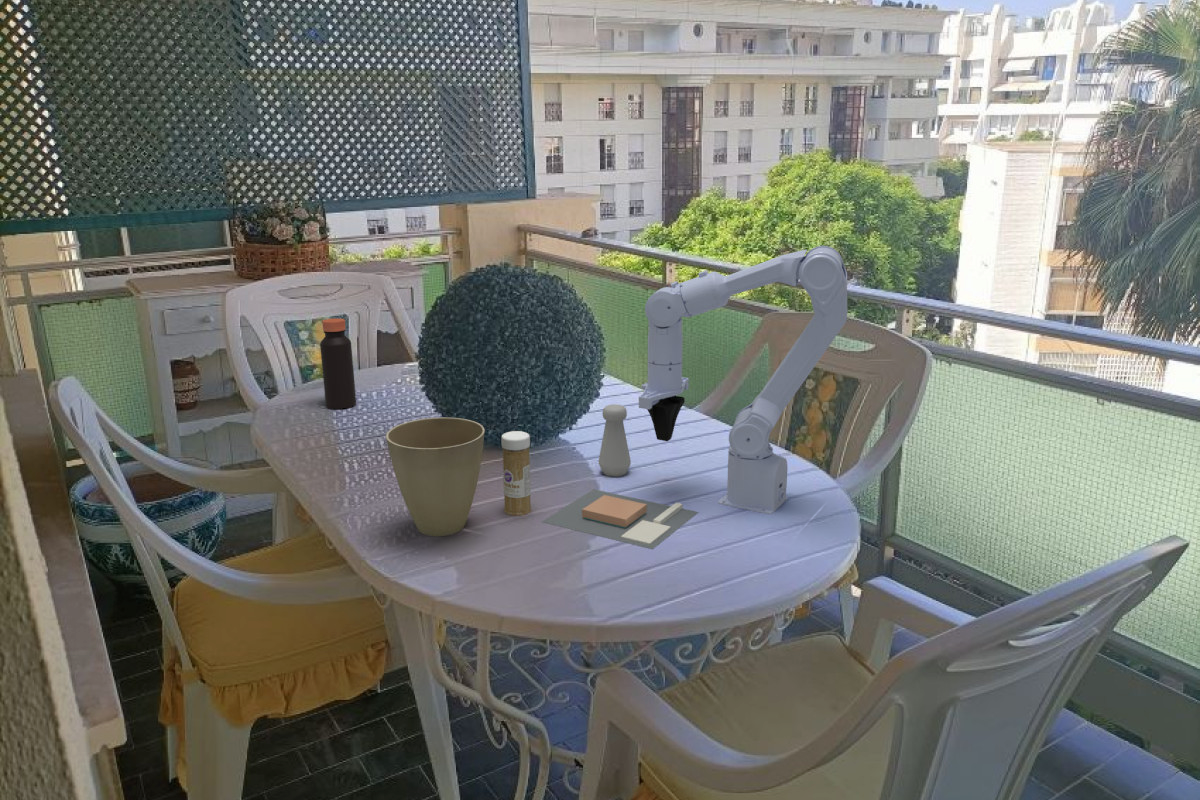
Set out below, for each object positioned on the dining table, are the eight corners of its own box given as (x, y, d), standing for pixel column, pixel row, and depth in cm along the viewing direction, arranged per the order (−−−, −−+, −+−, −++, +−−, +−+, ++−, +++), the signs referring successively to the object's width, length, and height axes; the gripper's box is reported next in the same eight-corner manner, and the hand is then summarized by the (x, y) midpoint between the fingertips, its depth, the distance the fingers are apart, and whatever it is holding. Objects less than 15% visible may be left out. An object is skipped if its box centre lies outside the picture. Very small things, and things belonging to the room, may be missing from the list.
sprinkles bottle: (499, 515, 149) (495, 436, 145) (512, 505, 153) (510, 428, 149) (523, 519, 147) (521, 440, 143) (537, 509, 151) (534, 432, 147)
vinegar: (348, 399, 215) (341, 316, 209) (361, 406, 210) (354, 320, 204) (321, 405, 211) (312, 320, 205) (333, 411, 206) (325, 324, 200)
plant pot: (374, 527, 144) (367, 431, 140) (452, 501, 154) (447, 411, 150) (428, 557, 134) (422, 454, 130) (507, 527, 144) (504, 431, 140)
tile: (646, 504, 147) (625, 519, 142) (646, 513, 148) (625, 529, 142) (604, 495, 151) (582, 509, 146) (604, 504, 152) (582, 518, 146)
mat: (698, 514, 148) (698, 512, 148) (652, 551, 135) (652, 549, 135) (593, 491, 158) (593, 489, 158) (541, 523, 145) (541, 521, 145)
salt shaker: (593, 476, 165) (592, 408, 161) (607, 466, 170) (607, 400, 166) (622, 482, 162) (621, 412, 159) (636, 471, 167) (636, 404, 164)
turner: (665, 504, 151) (665, 500, 151) (693, 510, 149) (693, 506, 148) (620, 538, 139) (620, 533, 139) (649, 545, 136) (649, 540, 136)
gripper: (663, 349, 158) (662, 424, 162) (622, 367, 146) (622, 447, 150) (700, 354, 155) (698, 430, 159) (661, 373, 143) (660, 454, 147)
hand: (664, 439), depth 154 cm, fingers closed
